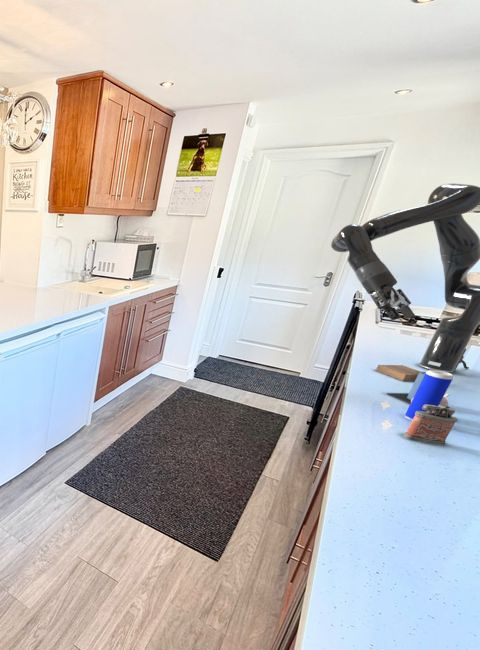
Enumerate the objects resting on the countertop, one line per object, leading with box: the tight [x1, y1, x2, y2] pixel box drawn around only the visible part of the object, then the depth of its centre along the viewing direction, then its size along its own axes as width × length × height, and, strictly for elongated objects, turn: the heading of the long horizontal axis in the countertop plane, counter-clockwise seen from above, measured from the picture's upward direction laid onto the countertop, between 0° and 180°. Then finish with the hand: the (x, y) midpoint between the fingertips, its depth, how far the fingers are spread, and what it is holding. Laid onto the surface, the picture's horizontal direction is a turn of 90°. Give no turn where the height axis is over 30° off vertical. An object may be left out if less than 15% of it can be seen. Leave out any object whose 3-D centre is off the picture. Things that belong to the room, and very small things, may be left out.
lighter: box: [403, 404, 459, 446], centre depth 105 cm, size 8×3×10 cm, turn 71°
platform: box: [375, 364, 421, 382], centre depth 151 cm, size 10×10×2 cm
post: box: [407, 371, 427, 400], centre depth 128 cm, size 5×5×9 cm
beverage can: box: [404, 369, 454, 421], centre depth 115 cm, size 5×5×15 cm
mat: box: [386, 392, 450, 408], centre depth 130 cm, size 10×10×1 cm
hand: (403, 318), depth 131 cm, fingers open, 8 cm apart
